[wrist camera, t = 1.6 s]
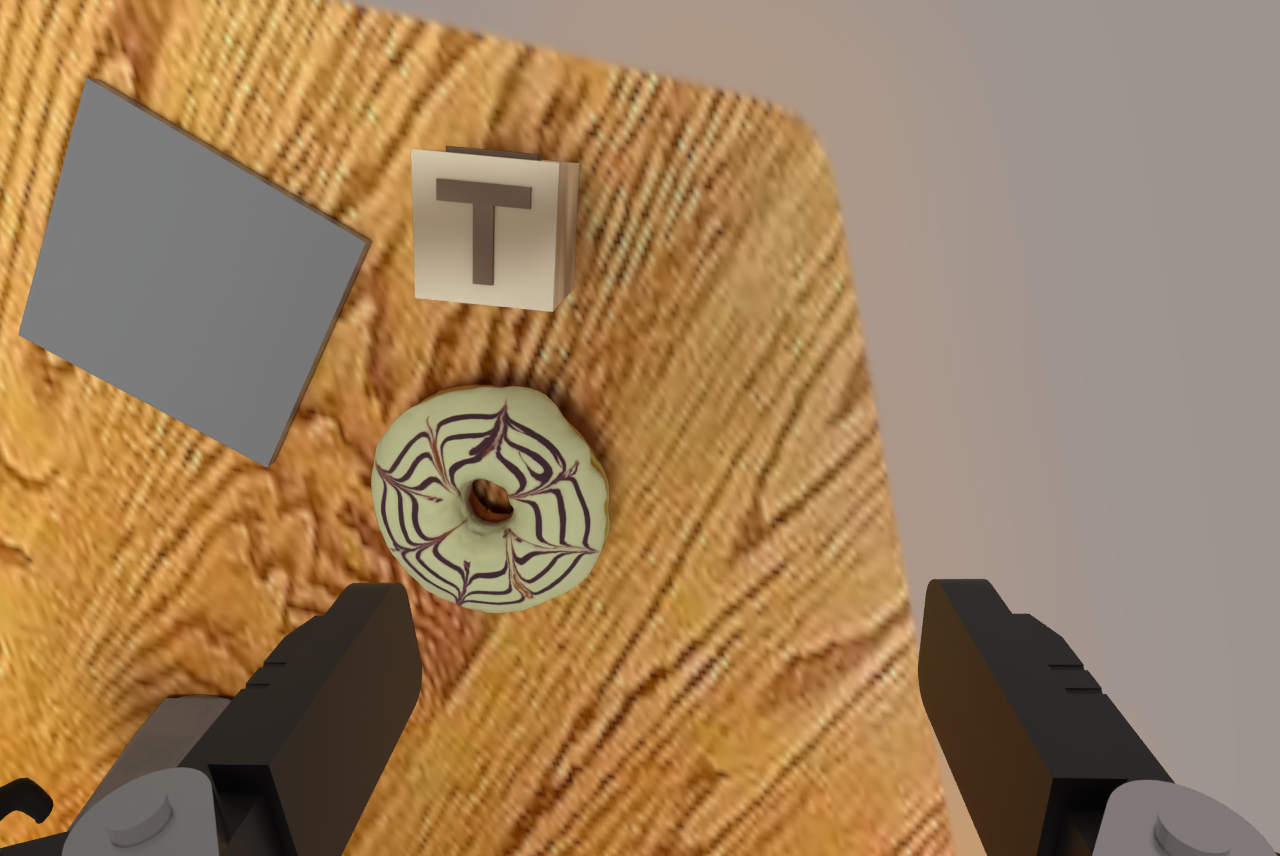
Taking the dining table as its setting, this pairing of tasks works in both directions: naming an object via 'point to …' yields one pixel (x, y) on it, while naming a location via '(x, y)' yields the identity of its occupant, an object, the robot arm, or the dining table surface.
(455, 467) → the decorated donut
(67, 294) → the slate coaster
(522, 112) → the dining table surface
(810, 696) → the dining table surface
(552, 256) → the letter block
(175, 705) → the coffeepot
